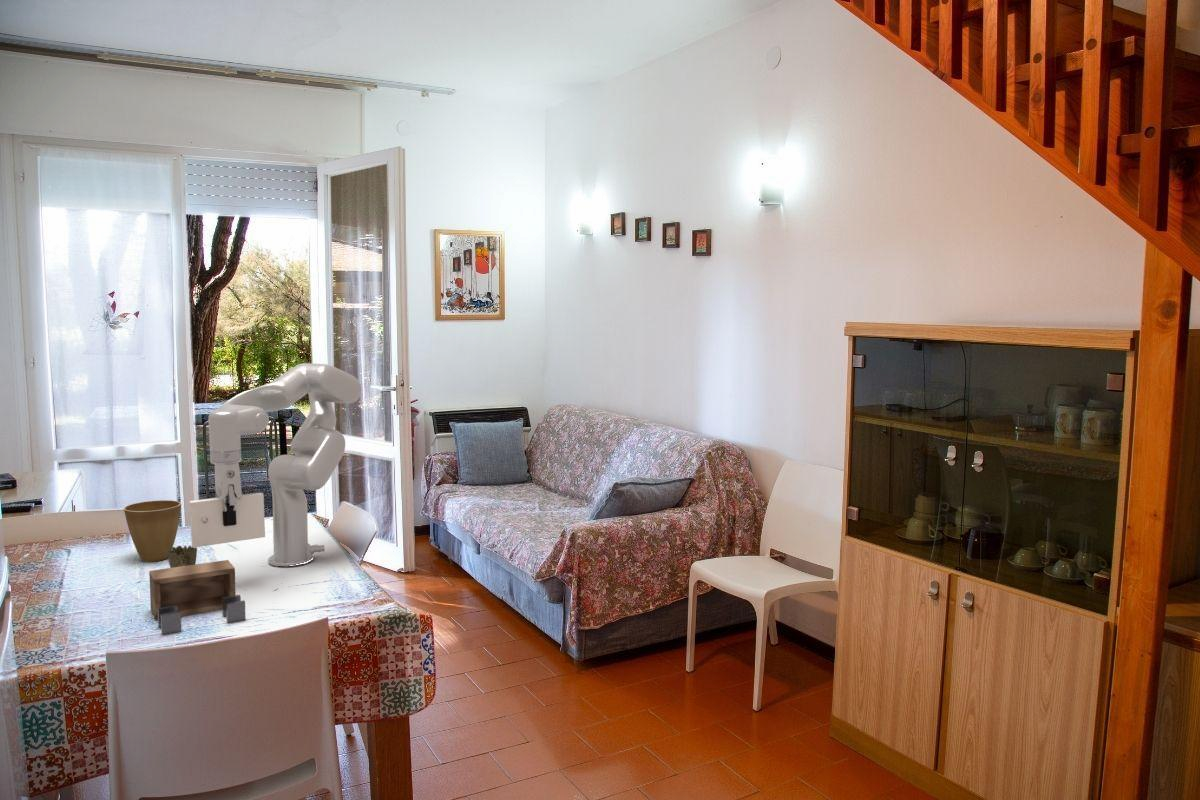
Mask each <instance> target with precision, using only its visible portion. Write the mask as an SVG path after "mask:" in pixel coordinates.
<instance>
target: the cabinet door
mask: <svg viewBox="0 0 1200 800" xmlns="http://www.w3.org/2000/svg"><path fill="white" fill-rule="evenodd" d="M264 496H265V495H264V493H263V492H256V493H255V492H254V493H247V494H242V498H241V499H238V498H237V497H236V496H235V506H236V525H232V526H224V525H223V511H224V504H223V500H221V499H220V498H219V497H214V498H204V499H196V500H189V518H190V519H189V520H190V537H191V538H190V539H191V547H193V548H195V547H196V548H200V547H207V546H215V545H220V544H227V543H228V544H229V543H234V542H241V541H248V540H254V539H261V538H265V537H266V526H265V525H266V524H265V501H264V500H265V497H264ZM226 499H229V498H226ZM227 503H229V502H226V504H227Z"/></svg>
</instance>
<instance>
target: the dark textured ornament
mask: <svg viewBox="0 0 1200 800" xmlns="http://www.w3.org/2000/svg"><path fill="white" fill-rule="evenodd" d="M197 552H198V547H195V548H193V547H192V545H188V546H187V545H183V547H182V546H181V545H178V546H176V547H175V546H173V548H172V551H170V550H169V549H168V551H167V553H168V558H167V559H168V565H169V568H173V567H181V566H188V565H195V564H197V555H198V553H197Z"/></svg>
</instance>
